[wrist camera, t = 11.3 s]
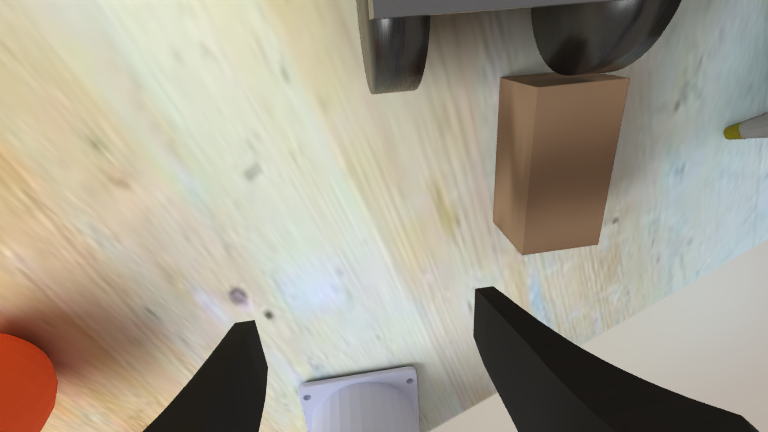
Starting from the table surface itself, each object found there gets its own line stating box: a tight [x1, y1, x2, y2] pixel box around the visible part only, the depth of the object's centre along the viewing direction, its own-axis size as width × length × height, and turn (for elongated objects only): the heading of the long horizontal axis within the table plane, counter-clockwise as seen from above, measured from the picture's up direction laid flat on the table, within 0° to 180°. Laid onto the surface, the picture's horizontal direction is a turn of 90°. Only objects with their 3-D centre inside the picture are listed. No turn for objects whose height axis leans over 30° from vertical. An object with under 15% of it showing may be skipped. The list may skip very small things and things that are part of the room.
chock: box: [493, 72, 630, 255], centre depth 19 cm, size 8×4×4 cm, turn 5°
